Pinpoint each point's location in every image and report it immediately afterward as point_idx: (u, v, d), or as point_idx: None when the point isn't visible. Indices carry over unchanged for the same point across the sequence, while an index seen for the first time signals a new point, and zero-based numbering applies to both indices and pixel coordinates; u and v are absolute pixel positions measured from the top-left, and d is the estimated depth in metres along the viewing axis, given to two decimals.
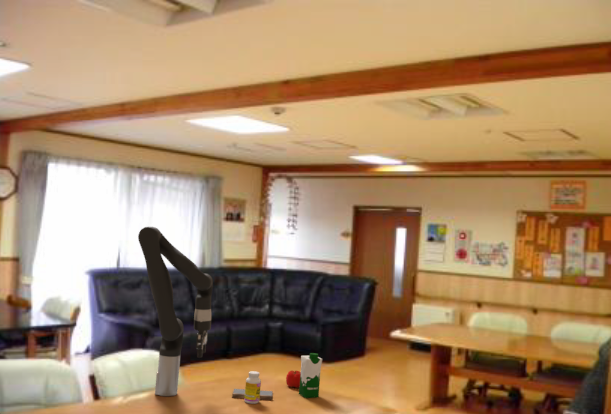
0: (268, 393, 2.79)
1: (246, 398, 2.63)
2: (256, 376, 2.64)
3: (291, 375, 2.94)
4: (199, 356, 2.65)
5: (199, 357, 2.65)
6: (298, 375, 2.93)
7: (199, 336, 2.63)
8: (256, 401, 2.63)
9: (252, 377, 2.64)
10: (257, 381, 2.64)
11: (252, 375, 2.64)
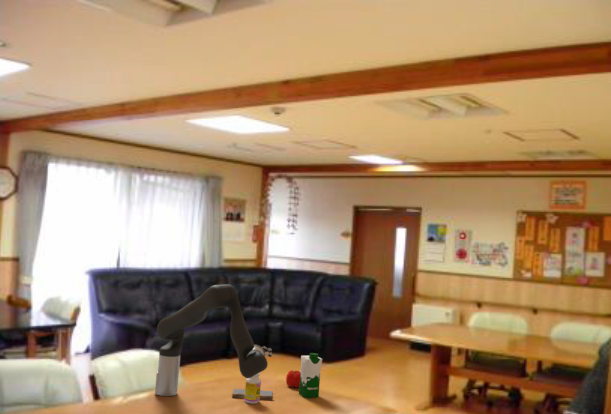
0: (268, 393, 2.79)
1: (246, 398, 2.63)
2: (256, 376, 2.64)
3: (291, 375, 2.94)
4: None
5: None
6: (298, 375, 2.93)
7: None
8: (256, 401, 2.63)
9: (252, 377, 2.64)
10: (257, 381, 2.64)
11: None
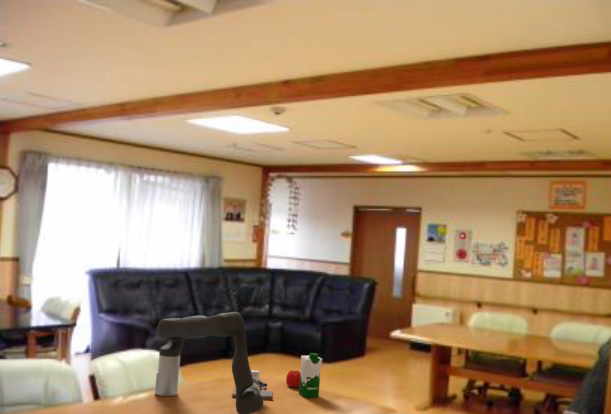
0: (268, 393, 2.79)
1: None
2: (256, 374, 2.66)
3: (291, 375, 2.94)
4: None
5: None
6: (298, 375, 2.93)
7: None
8: None
9: (252, 375, 2.65)
10: (257, 379, 2.65)
11: (252, 373, 2.65)
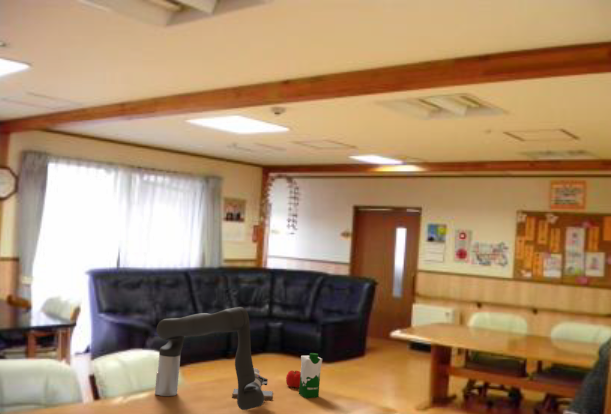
0: (268, 393, 2.79)
1: None
2: (256, 370, 2.75)
3: (291, 375, 2.94)
4: None
5: None
6: (298, 375, 2.93)
7: None
8: None
9: None
10: (258, 373, 2.73)
11: None
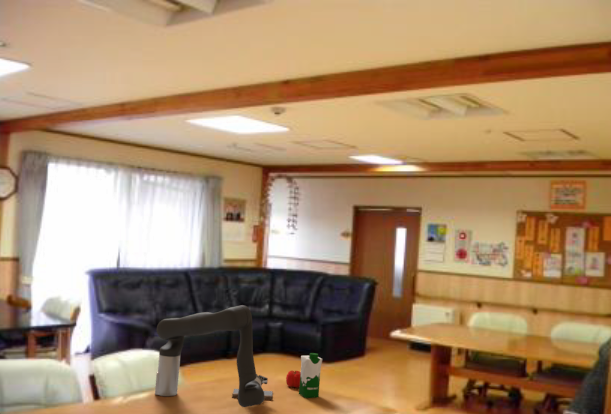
0: (268, 393, 2.79)
1: None
2: None
3: (291, 375, 2.94)
4: None
5: None
6: (298, 375, 2.93)
7: None
8: None
9: None
10: None
11: None
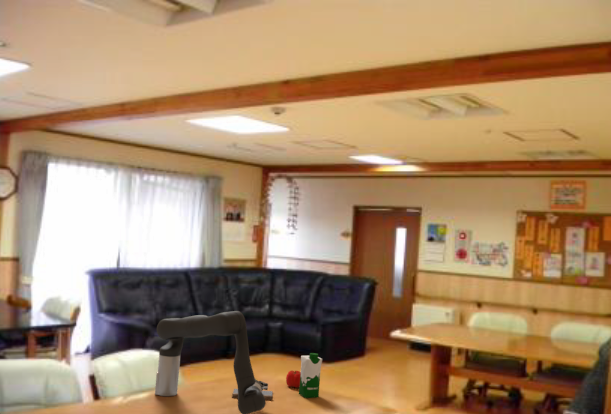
0: (268, 393, 2.79)
1: None
2: None
3: (291, 375, 2.94)
4: None
5: None
6: (298, 375, 2.93)
7: None
8: None
9: None
10: None
11: None
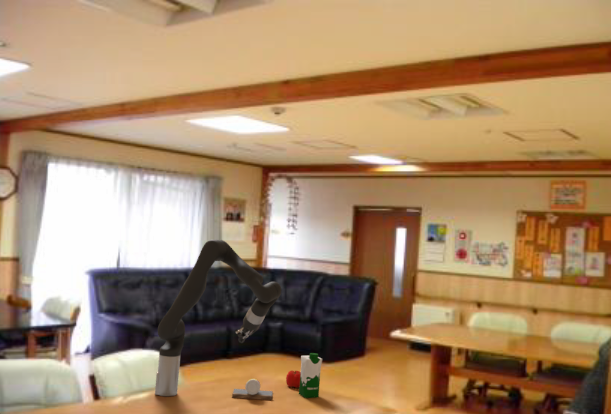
0: (268, 393, 2.79)
1: (248, 381, 2.71)
2: None
3: (291, 375, 2.94)
4: (239, 341, 2.65)
5: (239, 341, 2.66)
6: (298, 375, 2.93)
7: None
8: (257, 381, 2.71)
9: None
10: None
11: None
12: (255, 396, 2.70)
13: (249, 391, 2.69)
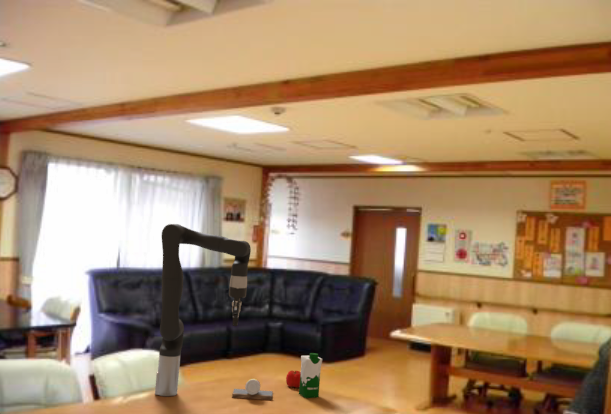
0: (268, 393, 2.79)
1: (248, 381, 2.71)
2: None
3: (291, 375, 2.94)
4: (235, 324, 2.63)
5: (234, 325, 2.64)
6: (298, 375, 2.93)
7: (235, 308, 2.59)
8: (257, 381, 2.71)
9: None
10: None
11: None
12: (255, 396, 2.70)
13: (249, 391, 2.69)
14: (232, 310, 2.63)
